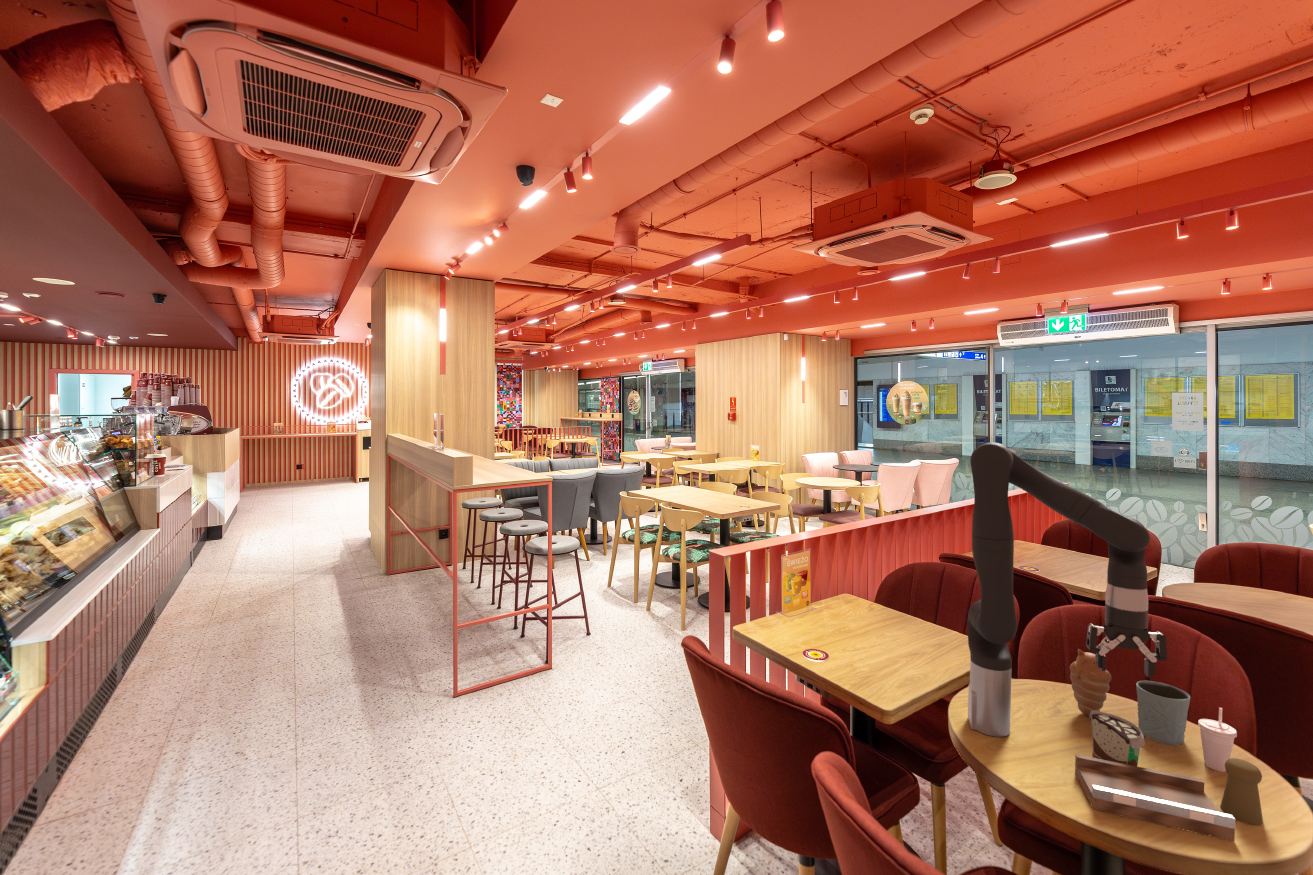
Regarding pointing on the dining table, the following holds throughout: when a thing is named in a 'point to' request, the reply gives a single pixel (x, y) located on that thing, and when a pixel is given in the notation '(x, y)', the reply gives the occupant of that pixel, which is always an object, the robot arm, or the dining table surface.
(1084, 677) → the cat ice cream
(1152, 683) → the grey blue pot
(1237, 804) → the cork
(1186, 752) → the dining table surface
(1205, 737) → the smoothie
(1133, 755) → the food container
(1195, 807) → the wooden tray
